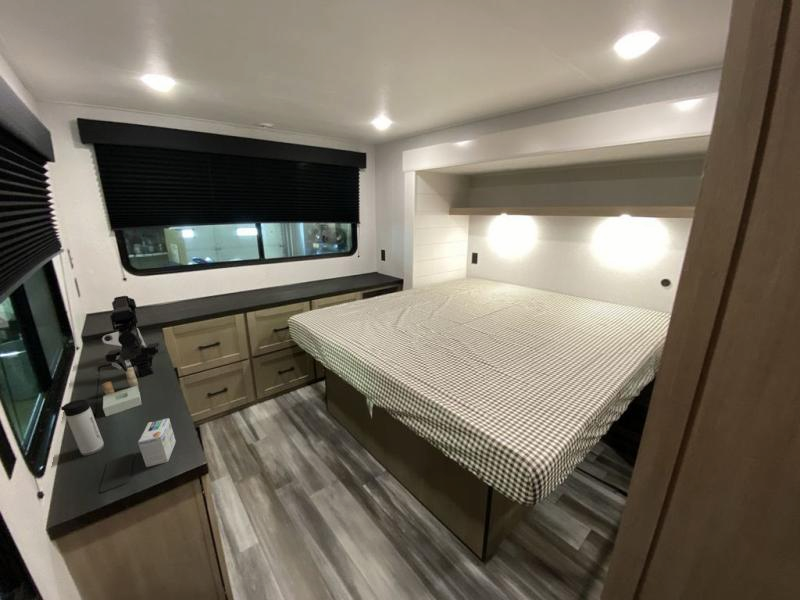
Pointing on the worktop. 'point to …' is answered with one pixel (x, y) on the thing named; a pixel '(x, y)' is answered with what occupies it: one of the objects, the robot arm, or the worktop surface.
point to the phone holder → (115, 342)
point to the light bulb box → (157, 442)
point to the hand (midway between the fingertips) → (139, 368)
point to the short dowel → (108, 388)
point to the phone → (117, 473)
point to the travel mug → (83, 426)
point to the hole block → (121, 400)
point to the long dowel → (131, 377)
